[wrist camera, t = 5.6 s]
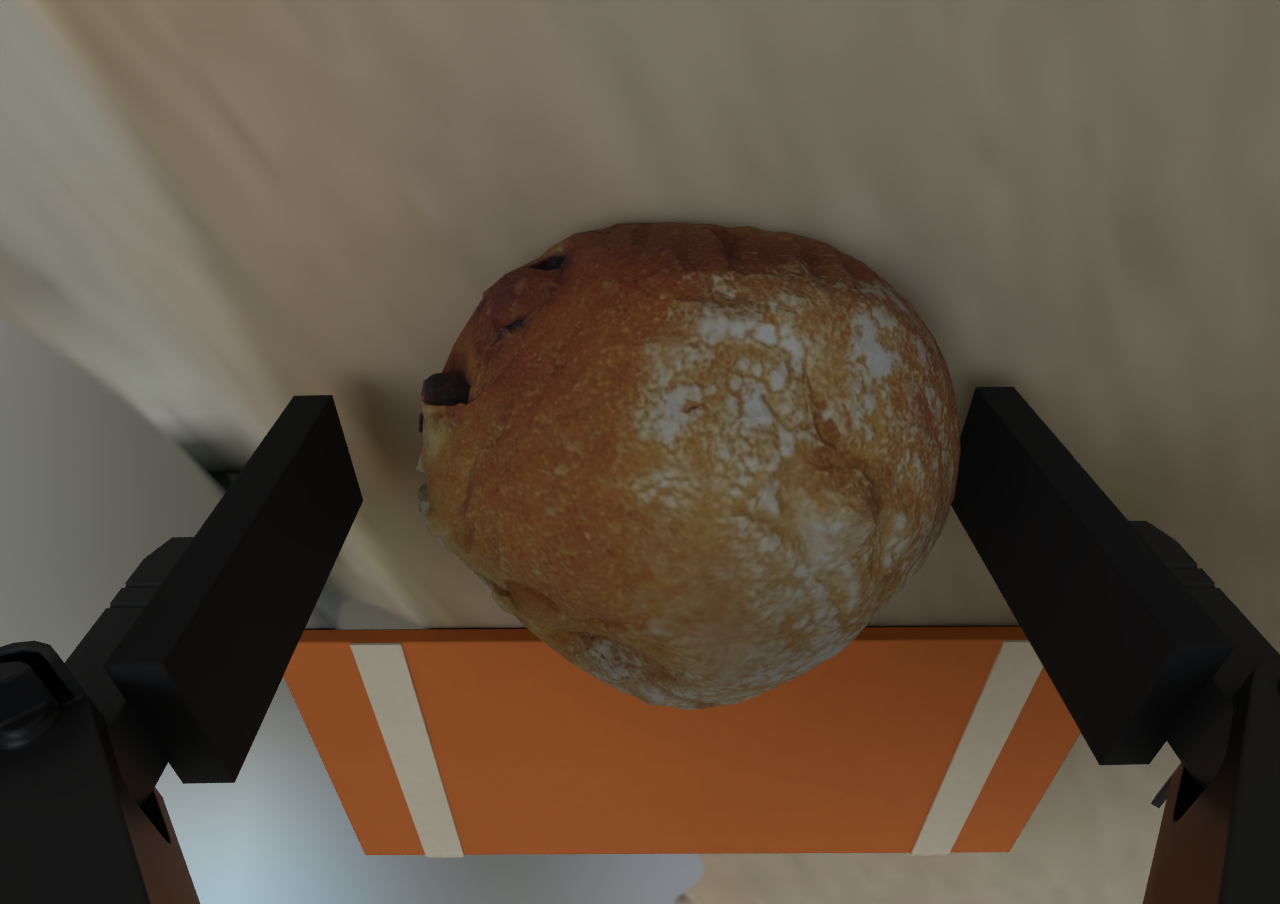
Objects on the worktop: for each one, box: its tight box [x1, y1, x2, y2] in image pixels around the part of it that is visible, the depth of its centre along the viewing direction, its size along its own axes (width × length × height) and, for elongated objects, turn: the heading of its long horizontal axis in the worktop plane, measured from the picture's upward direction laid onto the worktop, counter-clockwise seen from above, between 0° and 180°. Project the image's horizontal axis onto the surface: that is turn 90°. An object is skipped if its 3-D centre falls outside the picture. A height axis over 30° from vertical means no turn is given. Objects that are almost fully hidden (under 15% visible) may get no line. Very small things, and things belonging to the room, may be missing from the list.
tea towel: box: [283, 627, 1081, 858], centre depth 24 cm, size 12×24×1 cm, turn 90°
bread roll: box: [416, 222, 961, 710], centre depth 14 cm, size 10×10×8 cm
